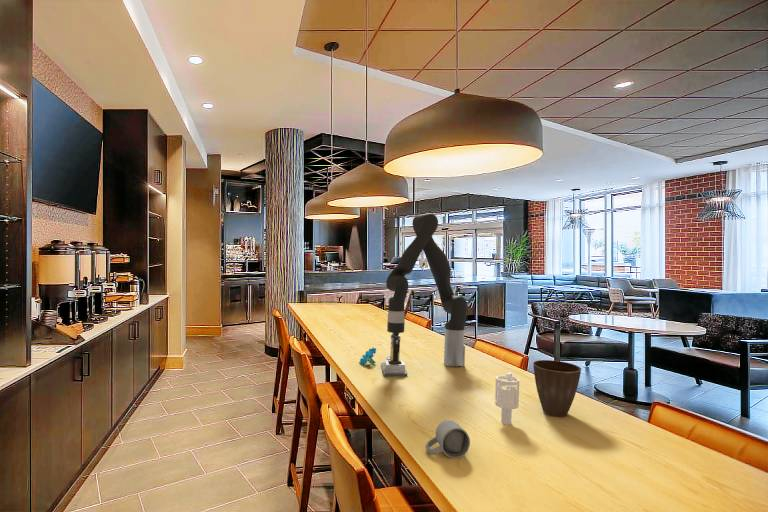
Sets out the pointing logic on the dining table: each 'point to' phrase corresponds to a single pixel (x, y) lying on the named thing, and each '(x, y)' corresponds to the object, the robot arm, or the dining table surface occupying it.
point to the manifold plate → (393, 368)
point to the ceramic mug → (450, 440)
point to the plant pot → (556, 385)
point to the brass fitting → (392, 356)
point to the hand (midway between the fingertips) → (394, 359)
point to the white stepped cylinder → (507, 396)
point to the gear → (368, 357)
